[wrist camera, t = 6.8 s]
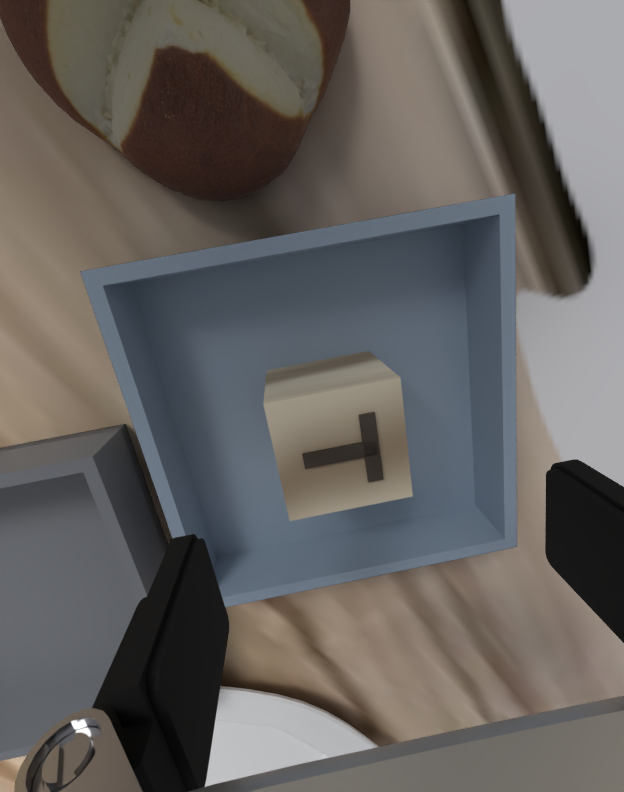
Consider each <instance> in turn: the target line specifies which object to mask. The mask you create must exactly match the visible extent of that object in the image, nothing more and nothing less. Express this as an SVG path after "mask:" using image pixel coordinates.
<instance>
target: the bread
mask: <svg viewBox="0 0 624 792" xmlns="http://www.w3.org/2000/svg"><path fill="white" fill-rule="evenodd" d="M349 14H350V0H0V18H1V20H2V23H3V25H4V28H5V30H6V33H7V35H8V37H9V39H10V41H11V43H12V44H13V46H14V48H15V50H16V52H17V54H18V55H19V57H20V59H21V60H22V62H23V63H24V65H25V67H26V68H27V70H28V71H29V72H30V74H31V75H32V76H33V78H34V79H35V80H36V82H37V83H38V84H39V85H40V86H41V87H42V88H43V90H44V91H45V92H46V93H47V94H48V95H49V96H50V97H51V98H52V100H53V101H54V102H55V103H56V104H57V105H58V106H59V107H60V108H62V109H63V110H64V111H65V112H66V113H68V114H69V115H70V116H71V117H72V118H73V119H74V120H75V121H77V122H78V123H79V124H81V125H82V126H84V127H85V128H87V129H88V130H89V131H91V132H92V133H94V134H95V135H97V136H98V137H100V138H101V139H103V140H104V141H106V142H107V143H109V144H110V145H112V146H114V147H115V148H117V149H118V150H119V151H120V152H121V153H122V154H123V155H124V156H125V157H126V158H127V159H128V160H129V161H130V162H131V163H132V164H133V165H134V166H136V167H137V168H138V169H140V170H141V171H142V172H144V173H145V174H146V175H148V176H149V177H151V178H153V179H154V180H156V181H157V182H159V183H161V184H162V185H164V186H166V187H168V188H170V189H171V190H173V191H177V192H181V193H182V194H184V195H188V196H191V197H195V198H198V199H204V200H218V201H222V200H230V199H236V198H239V197H243V196H246V195H249V194H251V193H253V192H255V191H257V190H259V189H261V188H263V187H264V186H266V185H267V184H269V183H270V182H271V181H272V180H274V179H275V178H276V177H277V176H279V175H280V174H281V173H282V172H283V171H284V169H285V168H286V167H287V166H288V165H289V163H290V161H291V159H292V158H293V156H294V154H295V152H296V151H297V148H298V146H299V144H300V142H301V140H302V138H303V136H304V133H305V131H306V127H307V124H308V122H309V120H310V118H311V116H312V114H313V113H314V111H315V109H316V108H317V106H318V104H319V102H320V101H321V99H322V96H323V94H324V92H325V90H326V88H327V85H328V83H329V81H330V78H331V75H332V72H333V69H334V67H335V64H336V61H337V58H338V55H339V52H340V49H341V46H342V43H343V40H344V37H345V33H346V28H347V24H348V19H349Z"/></svg>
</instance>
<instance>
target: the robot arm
mask: <svg viewBox="0 0 624 792" xmlns="http://www.w3.org/2000/svg"><path fill="white" fill-rule="evenodd" d="M546 557H547V559H548V562H549V563H550V565H551V566H552V567H553V568H554V570H555V571H556V572H557V573H558V574H559V575H560V576H561V577H562V578H563V579H564V580H565V581H566V582H567V583H568V584H569V585H570V586H571V588H572V589H573V590H574V591H575V592H576V593H577V594H578V595H579V596H580V597H581V598H582V599H583V600H584V601H585V602H586V603H587V605H588V606H589V607H590V608H591V609H592V610H593V611H594V612H595V613H596V614H597V615H598V616H599V617H600V618H601V619H602V620H603V621H604V623H605V624H606V625H607V626H608V627H609V628H610V629H611V630H612V631H613V632H614V633H615V634H616V635H617V636H618V637H619V638H620V640H621V641H622V642H623V643H624V487H623V486H621V485H619V484H618V483H616V482H614V481H613V480H611V479H609V478H608V477H606V476H605V475H603V474H601V473H600V472H598V471H596V470H594V469H593V468H591V467H590V466H588V465H586V464H585V463H583V462H581V461H579V460H570V461H564V462H559V463H555V464H553V465H552V467H551V470H549V471H547V473H546ZM228 633H229V620H228V615H227V612H226V608H225V605H224V602H223V598H222V595H221V592H220V589H219V585H218V582H217V579H216V576H215V572H214V569H213V566H212V562H211V559H210V556H209V553H208V549H207V546H206V543H205V540H204V539H203V538H200V539H198V538H197V536H196V535H195V534H191V535H186V536H180V537H175V538H173V539H172V540H171V541H170V544H169V546H168V548H167V551H166V553H165V555H164V558H163V560H162V562H161V565H160V567H159V569H158V572H157V574H156V576H155V579H154V581H153V583H152V586H151V588H150V590H149V593H148V595H147V597H144V598H143V599H142V600H140V602H139V604H138V605H137V607H136V610H135V612H134V614H133V616H132V619H131V621H130V623H129V625H128V628H127V630H126V632H125V634H124V637H123V639H122V641H121V643H120V646H119V648H118V650H117V652H116V655H115V657H114V659H113V661H112V664H111V666H110V668H109V670H108V673H107V675H106V677H105V679H104V682H103V684H102V686H101V688H100V691H99V693H98V695H97V697H96V700H95V702H94V704H93V706H92V709H84V710H81V711H78V712H76V713H73V714H71V715H69V716H67V717H66V718H64V719H63V720H61V721H60V722H58V723H57V724H55V725H54V726H53V727H52V728H51V729H50V730H49V731H47V732H46V733H45V734H44V735H43V736H42V737H41V738H40V739H39V741H38V742H37V743H36V744H35V745H34V747H33V748H32V749H31V750H30V752H29V753H28V755H27V757H26V758H25V760H24V762H23V763H22V765H21V767H20V769H19V772H18V775H17V778H16V781H15V790H14V792H624V696H621V697H616V698H611V699H606V700H601V701H596V702H591V703H586V704H581V705H576V706H571V707H566V708H562V709H557V710H552V711H547V712H542V713H538V714H533V715H528V716H523V717H518V718H514V719H509V720H504V721H499V722H494V723H490V724H485V725H480V726H475V727H470V728H466V729H461V730H456V731H451V732H447V733H442V734H437V735H432V736H428V737H423V738H418V739H414V740H409V741H404V742H400V743H395V744H390V745H386V746H381V747H376V748H372V749H367V750H363V751H358V752H353V753H349V754H344V755H339V756H335V757H330V758H325V759H321V760H316V761H312V762H307V763H302V764H298V765H293V766H289V767H285V768H281V769H276V770H272V771H268V772H264V773H259V774H255V775H251V776H247V777H243V778H238V779H234V780H230V781H226V782H222V783H217V784H213V785H210V786H206V787H205V783H206V778H207V772H208V765H209V759H210V752H211V745H212V739H213V732H214V726H215V719H216V712H217V706H218V699H219V693H220V686H221V679H222V673H223V666H224V660H225V653H226V646H227V640H228Z"/></svg>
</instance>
